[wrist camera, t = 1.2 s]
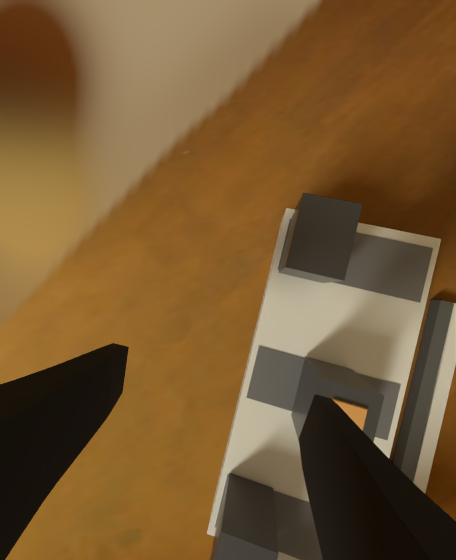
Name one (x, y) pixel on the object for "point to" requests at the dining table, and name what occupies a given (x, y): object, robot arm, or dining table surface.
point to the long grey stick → (428, 394)
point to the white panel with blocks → (322, 346)
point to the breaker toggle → (337, 394)
